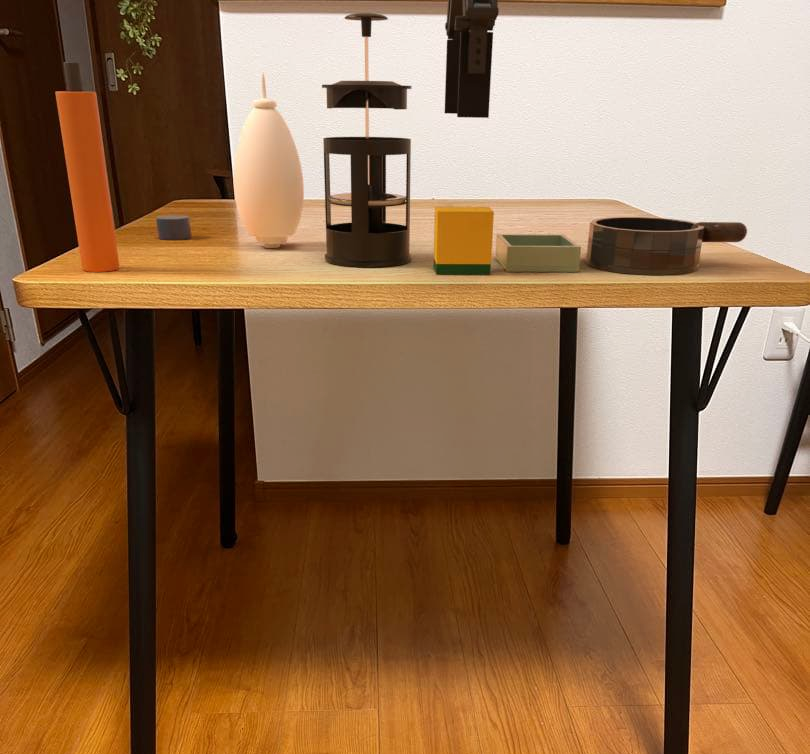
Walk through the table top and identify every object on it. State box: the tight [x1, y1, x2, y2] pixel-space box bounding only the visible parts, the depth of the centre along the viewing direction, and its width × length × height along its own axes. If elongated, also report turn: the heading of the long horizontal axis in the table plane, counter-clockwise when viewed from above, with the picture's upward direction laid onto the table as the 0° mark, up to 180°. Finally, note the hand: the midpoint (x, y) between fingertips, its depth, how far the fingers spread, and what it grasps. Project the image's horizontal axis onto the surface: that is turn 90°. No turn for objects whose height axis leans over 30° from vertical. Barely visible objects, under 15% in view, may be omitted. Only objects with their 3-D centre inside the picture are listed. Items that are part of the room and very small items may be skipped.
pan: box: [586, 216, 704, 276], centre depth 93 cm, size 12×12×4 cm
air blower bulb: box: [233, 72, 305, 249], centre depth 98 cm, size 8×8×18 cm
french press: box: [321, 12, 412, 268], centre depth 90 cm, size 12×9×23 cm
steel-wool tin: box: [155, 214, 192, 241], centre depth 108 cm, size 4×4×2 cm
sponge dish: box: [494, 233, 582, 273], centre depth 93 cm, size 8×8×2 cm
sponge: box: [433, 206, 495, 275], centre depth 88 cm, size 6×4×6 cm
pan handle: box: [691, 221, 748, 243], centre depth 93 cm, size 6×2×2 cm, turn 92°
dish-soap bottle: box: [55, 61, 120, 273], centre depth 85 cm, size 4×4×18 cm
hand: (464, 115), depth 83 cm, fingers open, 13 cm apart
